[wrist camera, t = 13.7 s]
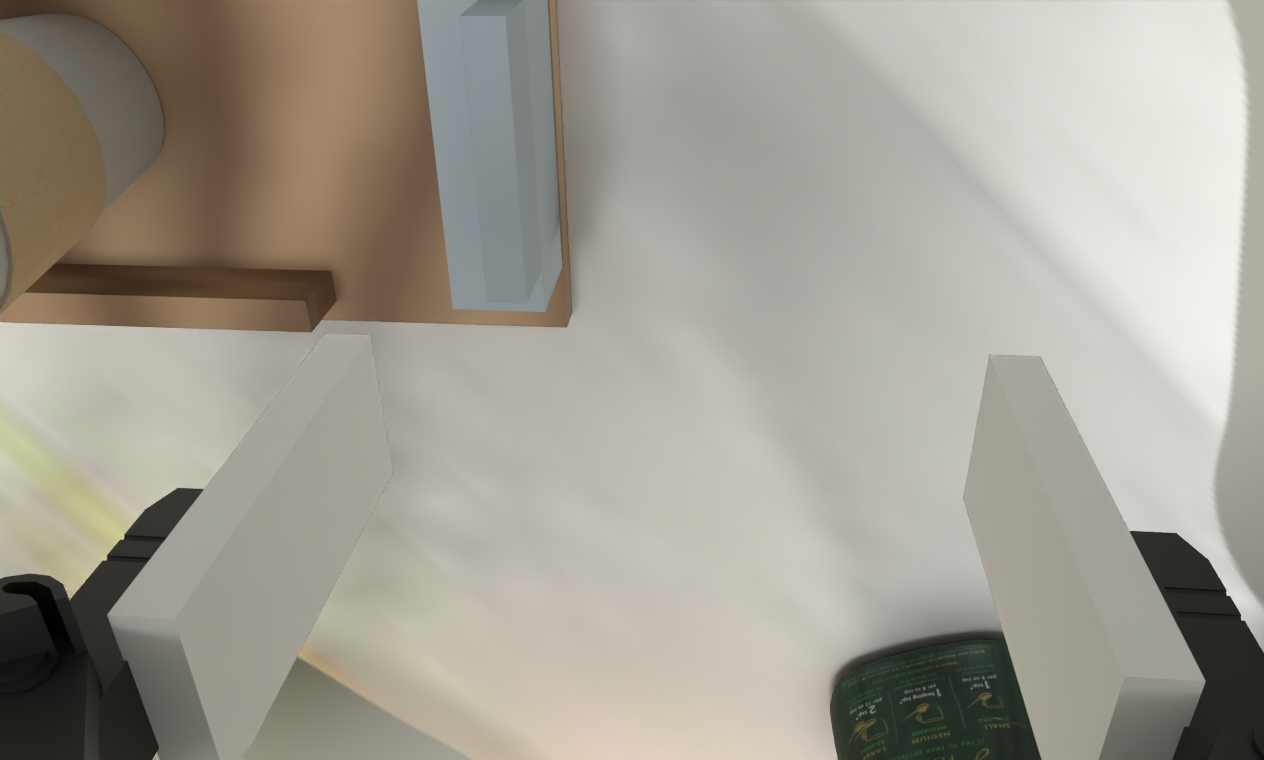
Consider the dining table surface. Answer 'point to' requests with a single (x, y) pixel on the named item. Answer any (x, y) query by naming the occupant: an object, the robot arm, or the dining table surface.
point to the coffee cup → (65, 137)
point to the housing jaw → (494, 149)
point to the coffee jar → (934, 707)
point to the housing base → (275, 175)
